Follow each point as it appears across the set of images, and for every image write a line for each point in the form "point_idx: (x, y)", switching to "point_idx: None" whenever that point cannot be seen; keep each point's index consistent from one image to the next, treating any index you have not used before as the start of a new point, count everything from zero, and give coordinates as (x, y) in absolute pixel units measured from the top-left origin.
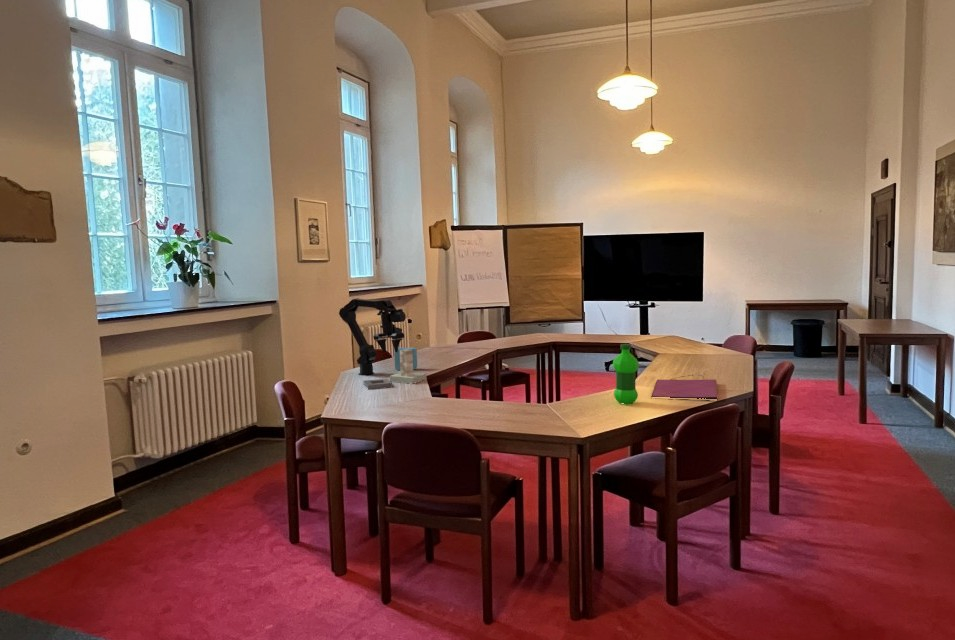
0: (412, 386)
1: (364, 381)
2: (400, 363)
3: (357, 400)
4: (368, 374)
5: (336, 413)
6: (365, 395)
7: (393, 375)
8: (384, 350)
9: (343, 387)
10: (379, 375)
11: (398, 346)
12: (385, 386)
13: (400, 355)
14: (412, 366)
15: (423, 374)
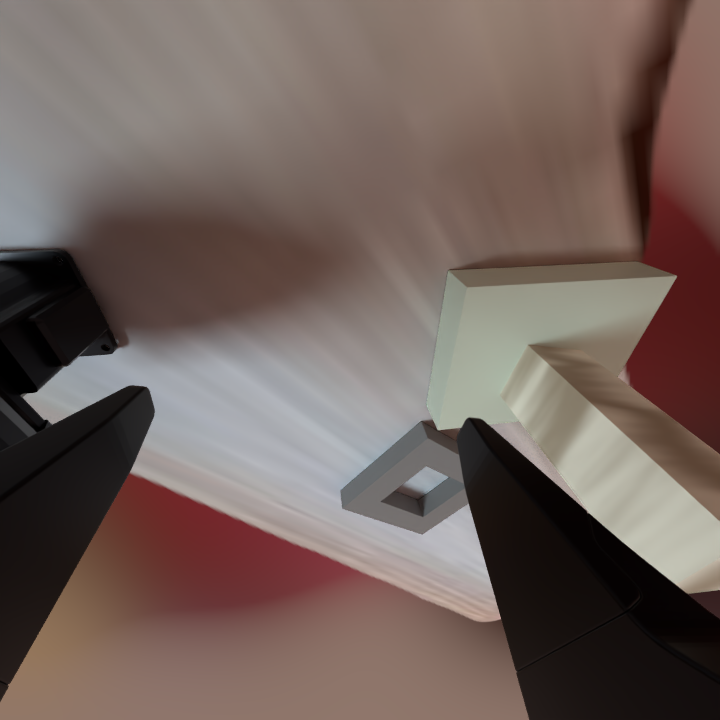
0: None
1: (359, 512)
2: (554, 463)
3: (469, 574)
4: (110, 337)
5: (483, 614)
6: (460, 550)
7: (452, 413)
8: (133, 435)
9: (301, 539)
10: (197, 295)
11: (569, 499)
12: None
13: (613, 533)
14: (631, 393)
15: (657, 305)
